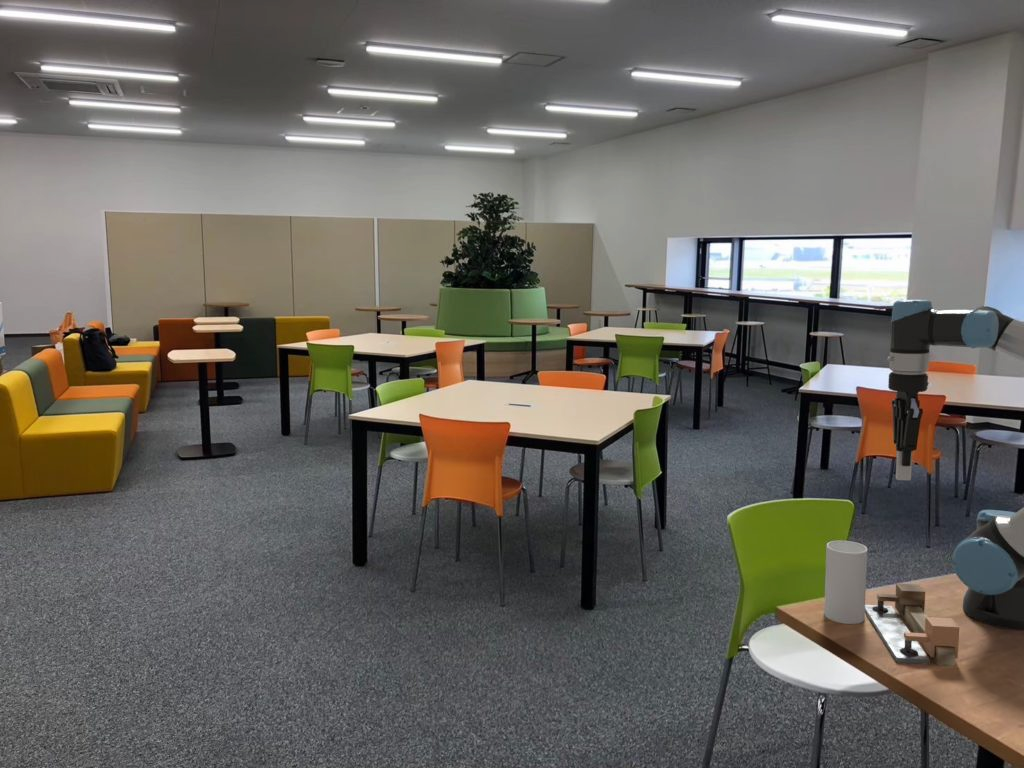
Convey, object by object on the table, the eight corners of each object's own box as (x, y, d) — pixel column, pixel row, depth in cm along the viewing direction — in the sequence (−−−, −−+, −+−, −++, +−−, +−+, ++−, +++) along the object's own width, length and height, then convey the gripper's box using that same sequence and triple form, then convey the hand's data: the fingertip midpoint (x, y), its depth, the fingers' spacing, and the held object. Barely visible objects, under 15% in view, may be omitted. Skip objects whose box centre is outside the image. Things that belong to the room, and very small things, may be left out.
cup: (868, 625, 169) (871, 554, 167) (828, 622, 170) (830, 552, 168) (859, 609, 177) (862, 541, 174) (821, 607, 178) (823, 539, 176)
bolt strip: (891, 610, 176) (891, 605, 176) (929, 664, 152) (929, 658, 151) (862, 608, 177) (863, 603, 177) (896, 662, 153) (896, 656, 152)
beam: (912, 611, 175) (913, 598, 175) (954, 665, 151) (955, 651, 150) (898, 610, 176) (899, 597, 175) (938, 664, 151) (938, 650, 151)
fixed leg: (918, 608, 174) (919, 584, 174) (924, 616, 170) (925, 591, 170) (874, 606, 176) (876, 582, 175) (880, 614, 172) (881, 589, 171)
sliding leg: (949, 648, 156) (951, 618, 155) (957, 658, 152) (959, 627, 151) (901, 646, 157) (902, 615, 156) (907, 655, 153) (909, 624, 152)
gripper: (880, 368, 175) (876, 471, 178) (899, 376, 162) (894, 486, 165) (917, 368, 174) (911, 472, 177) (938, 376, 161) (932, 487, 164)
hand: (903, 479), depth 171 cm, fingers closed
